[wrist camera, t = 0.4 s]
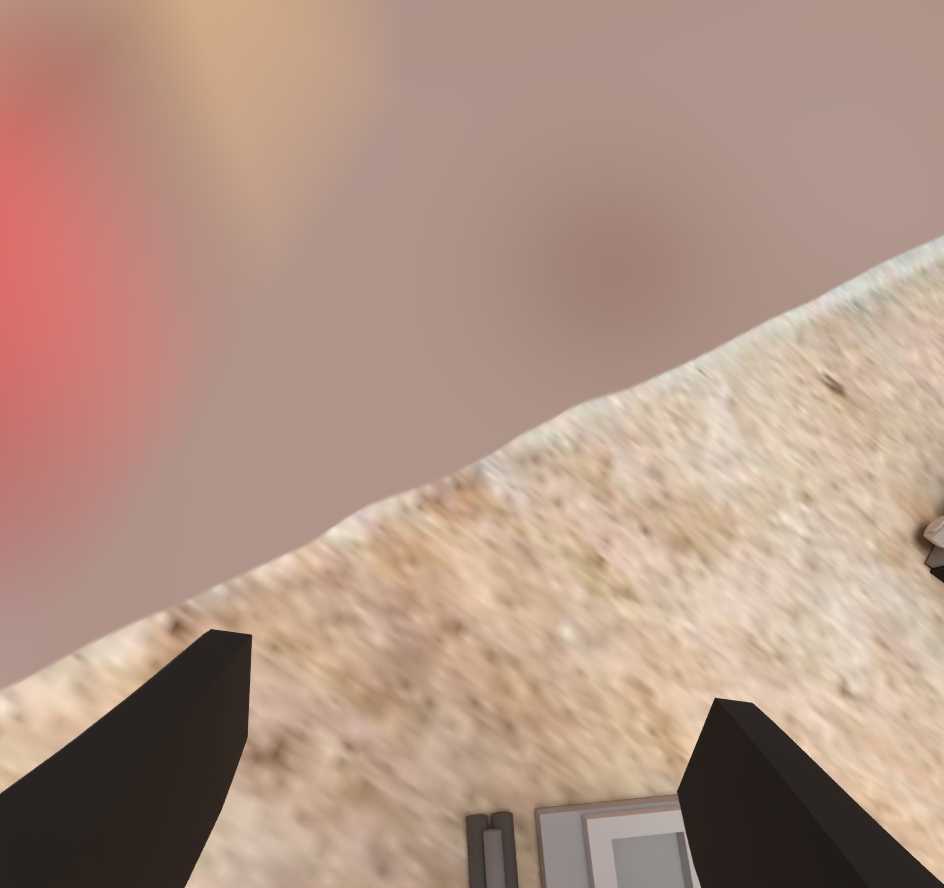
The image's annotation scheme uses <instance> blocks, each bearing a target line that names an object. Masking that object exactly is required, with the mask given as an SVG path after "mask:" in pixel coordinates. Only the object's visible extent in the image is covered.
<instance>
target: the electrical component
mask: <svg viewBox="0 0 944 888" xmlns="http://www.w3.org/2000/svg"><path fill="white" fill-rule="evenodd" d="M924 537H925V538H926V539H928V540H929V541H931V542H932V543H933V544H935V546H934V548H933V550H932V552H931V554H930V556H929V558H928V559H927V561H926V564H927V565H928V566H930V567H931V570H930V573H931V574H932V575H934V576H935V577H936V578H938V579H939V580H941V581H942V582H943V583H944V515H943V516H941V517H938V518H936V519H935V520H933V521H932V522H931V523H930V524H929V525H928V527H927V528H926V529H925V532H924Z"/></svg>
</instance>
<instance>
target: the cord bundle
mask: <svg viewBox="0 0 944 888" xmlns="http://www.w3.org/2000/svg"><path fill="white" fill-rule="evenodd" d="M491 821H492V829H488V816H487V815H483V814H478V815H471V816H468V817H466V822H467V840H468V858H469V875H470V888H518V876H517V864H516V852H515V840H514V827H513V815H512V813H510V812H498V813H494V814H492V815H491Z"/></svg>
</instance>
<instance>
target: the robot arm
mask: <svg viewBox="0 0 944 888" xmlns="http://www.w3.org/2000/svg"><path fill="white" fill-rule="evenodd" d="M251 648H252V635H250V634H243V633H236V632H228V631H221V630H214V629H211V630H209V631H208V632H206V633H205V634H203V635H202V636H201V637H200V638H198V639H197V640H196V641H195V642H194V643H192V644H191V645H190V646H189V647H188V648H186V649H185V650H184V651H183V652H182V653H180V654H179V655H178V656H177V657H176V658H175V659H173V660H172V661H171V662H170V663H169V664H167V665H166V666H165V667H164V668H163V669H161V670H160V671H159V672H158V673H157V674H155V675H154V676H153V677H152V678H151V679H149V680H148V681H147V682H146V683H145V684H143V685H142V686H141V687H140V688H138V689H137V690H136V691H135V692H134V693H132V694H131V695H130V696H129V697H127V698H126V699H125V700H124V701H122V702H121V703H120V704H119V705H117V706H116V707H115V708H113V709H112V710H111V711H110V712H108V713H107V714H106V715H105V716H103V717H102V718H101V719H100V720H98V721H97V722H96V723H94V724H93V725H92V726H91V727H89V728H88V729H87V730H86V731H84V732H83V733H82V734H81V735H79V736H78V737H77V738H75V739H74V740H73V741H71V742H70V743H69V744H67V745H66V746H65V747H64V748H62V749H61V750H59V751H58V752H57V753H55V754H54V755H53V756H51V757H50V758H49V759H47V760H46V761H44V762H43V763H42V764H40V765H39V766H38V767H36V768H35V769H33V770H32V771H31V772H29V773H28V774H27V775H25V776H24V777H22V778H21V779H20V780H18V781H17V782H16V783H14V784H13V785H11V786H10V787H9V788H7V789H6V790H5V791H3V792H2V793H1V794H0V888H185V886H186V884H187V882H188V880H189V878H190V875H191V873H192V871H193V869H194V867H195V865H196V863H197V861H198V859H199V857H200V854H201V852H202V850H203V848H204V846H205V844H206V842H207V840H208V838H209V835H210V833H211V831H212V829H213V827H214V825H215V823H216V821H217V818H218V816H219V814H220V812H221V810H222V807H223V804H224V802H225V799H226V796H227V794H228V791H229V788H230V785H231V783H232V780H233V777H234V775H235V772H236V769H237V766H238V763H239V760H240V757H241V755H242V752H243V749H244V746H245V743H246V740H247V738H248V715H249V693H250V670H251ZM677 794H678V799H679V803H680V808H681V813H682V817H683V822H684V827H685V832H686V836H687V840H688V844H689V848H690V852H691V856H692V860H693V865H694V868H695V871H696V874H697V877H698V880H699V883H700V886H701V888H944V884H943V883H942V882H941V881H939V880H938V879H937V878H936V877H935V876H934V875H933V874H932V873H931V872H929V871H928V870H927V869H926V868H925V867H924V866H923V865H922V864H921V863H920V862H919V861H918V860H917V859H915V858H914V857H913V856H912V855H911V854H910V853H909V852H908V851H907V850H906V849H905V848H904V847H903V846H902V845H900V844H899V843H898V842H897V841H896V840H895V839H894V838H893V837H892V836H891V835H890V834H889V833H888V832H887V831H886V830H885V829H884V828H882V827H881V826H880V825H879V824H878V823H877V822H876V821H875V820H874V819H873V818H872V817H871V816H870V815H869V814H868V813H867V812H866V811H865V810H864V809H863V808H862V807H861V806H860V805H859V804H858V803H856V802H855V801H854V800H853V799H852V798H851V797H850V796H849V795H848V794H847V793H846V792H845V791H844V790H843V789H842V788H841V787H840V786H839V785H838V784H837V783H836V782H835V781H834V780H833V779H832V778H831V777H830V776H829V775H828V774H827V773H826V772H825V771H824V770H823V769H822V768H821V767H820V766H819V765H818V764H817V763H815V762H814V761H813V760H812V759H811V758H810V757H809V756H808V755H807V754H806V753H805V752H804V751H803V750H802V749H801V748H800V747H799V746H798V745H797V744H796V743H795V742H794V741H793V740H792V739H791V738H790V737H789V736H788V735H787V734H786V733H785V732H784V731H783V730H781V729H780V728H779V727H778V726H777V725H776V724H775V723H774V722H773V721H772V720H771V719H770V718H769V717H768V716H767V715H765V714H764V713H763V712H762V711H761V710H760V709H759V708H758V707H756V706H755V705H754V704H753V703H750V702H742V701H735V700H728V699H720V698H715V699H714V701H713V704H712V706H711V709H710V711H709V714H708V716H707V719H706V721H705V724H704V726H703V729H702V731H701V734H700V736H699V739H698V741H697V744H696V746H695V748H694V751H693V753H692V756H691V758H690V761H689V763H688V766H687V768H686V771H685V773H684V776H683V778H682V781H681V783H680V786H679V788H678V791H677Z"/></svg>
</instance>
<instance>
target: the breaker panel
mask: <svg viewBox="0 0 944 888" xmlns="http://www.w3.org/2000/svg"><path fill="white" fill-rule="evenodd" d="M535 815H536V826H537V836H538V847H539V858H540V868H541V879H542V888H701V886H700V883H699V880H698V877H697V874H696V871H695V868H694V865H693V860H692V856H691V852H690V848H689V844H688V840H687V836H686V832H685V827H684V822H683V817H682V813H681V808H680V803H679V799H678V795H669V796H659V797H649V798H639V799H628V800H618V801H608V802H598V803H588V804H578V805H568V806H558V807H548V808H538V809H535Z"/></svg>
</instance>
